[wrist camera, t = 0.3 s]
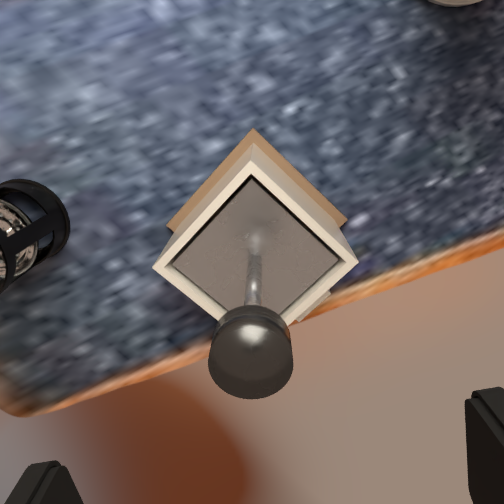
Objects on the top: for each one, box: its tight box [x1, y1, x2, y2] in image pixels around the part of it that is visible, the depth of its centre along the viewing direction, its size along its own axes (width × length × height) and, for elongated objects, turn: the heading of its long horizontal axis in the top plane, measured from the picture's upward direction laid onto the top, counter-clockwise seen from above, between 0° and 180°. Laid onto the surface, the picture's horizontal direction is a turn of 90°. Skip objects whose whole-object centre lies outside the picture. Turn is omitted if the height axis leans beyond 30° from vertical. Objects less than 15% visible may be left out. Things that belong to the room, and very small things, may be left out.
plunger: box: [172, 178, 338, 399], centre depth 28 cm, size 10×10×15 cm
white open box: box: [152, 128, 359, 326], centre depth 40 cm, size 14×14×13 cm
